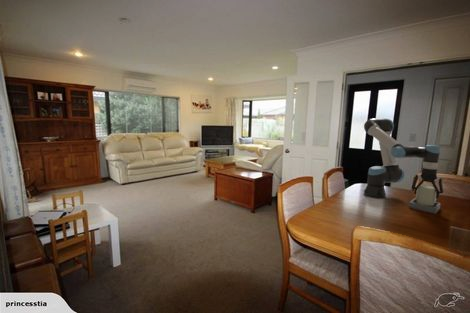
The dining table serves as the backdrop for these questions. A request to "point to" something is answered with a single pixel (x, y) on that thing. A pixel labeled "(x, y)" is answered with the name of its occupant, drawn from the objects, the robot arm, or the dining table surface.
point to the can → (426, 195)
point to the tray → (424, 206)
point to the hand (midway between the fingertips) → (425, 200)
